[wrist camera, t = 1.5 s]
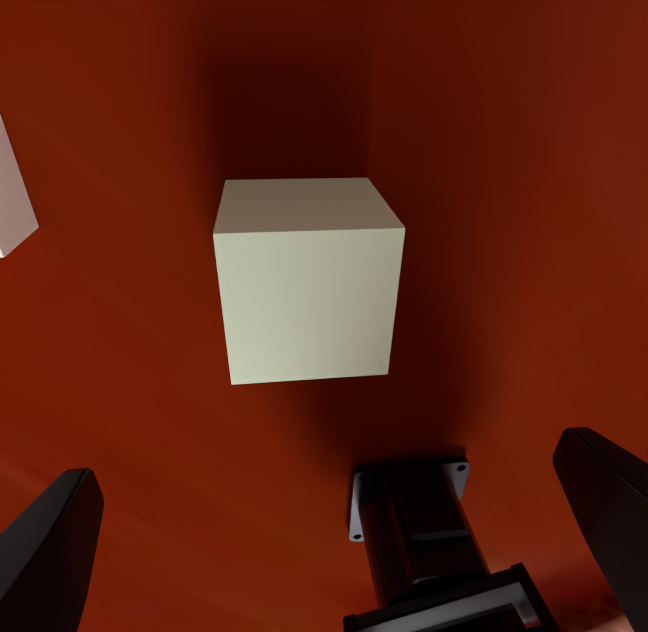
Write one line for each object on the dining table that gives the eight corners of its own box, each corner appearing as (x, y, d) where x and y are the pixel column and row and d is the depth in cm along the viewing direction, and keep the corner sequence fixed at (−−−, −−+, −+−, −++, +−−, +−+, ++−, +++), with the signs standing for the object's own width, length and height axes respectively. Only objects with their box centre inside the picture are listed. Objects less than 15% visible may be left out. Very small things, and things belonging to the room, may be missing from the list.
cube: (359, 297, 19) (387, 374, 14) (238, 303, 18) (231, 384, 14) (367, 177, 16) (405, 228, 12) (225, 179, 15) (212, 234, 11)
